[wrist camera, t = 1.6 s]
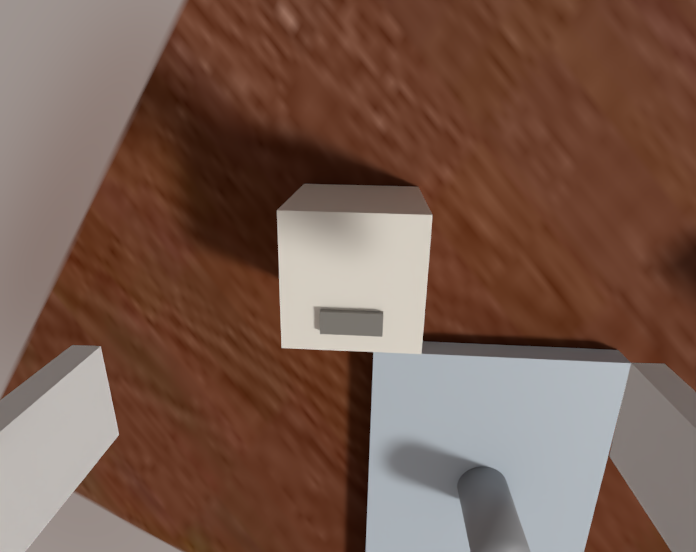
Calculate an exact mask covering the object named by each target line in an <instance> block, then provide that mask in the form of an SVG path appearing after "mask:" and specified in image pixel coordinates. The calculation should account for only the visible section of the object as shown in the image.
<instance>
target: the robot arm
mask: <svg viewBox="0 0 696 552" xmlns="http://www.w3.org/2000/svg"><path fill="white" fill-rule="evenodd" d="M118 435H119V432H118V427H117V422H116V418H115V413H114V408H113V403H112V398H111V393H110V389H109V384H108V379H107V374H106V369H105V364H104V360H103V355H102V350H101V346H79V345H72V346H70V347H69V348H68V349H67V350H65V351H64V352H63V353H61V354H60V355H59V356H57V357H56V358H55V359H54V360H52V361H51V362H50V363H48V364H47V365H46V366H44V367H43V368H42V369H41V370H39V371H38V372H37V373H35V374H34V375H33V376H31V377H30V378H29V379H28V380H26V381H25V382H24V383H22V384H21V385H20V386H18V387H17V388H16V389H15V390H13V391H12V392H11V393H9V394H8V395H7V396H5V397H4V398H3V399H2V400H0V552H25V551H26V550H27V549H28V548H29V546H30V545H31V544H32V543H33V541H34V540H35V539H36V538H37V536H38V535H39V534H40V533H41V531H42V530H43V529H44V528H45V526H46V525H47V524H48V522H49V521H50V520H51V519H52V518H53V516H54V515H55V514H56V513H57V511H58V510H59V509H60V508H61V506H62V505H63V504H64V503H65V501H66V500H67V499H68V498H69V496H70V495H71V494H72V493H73V492H74V490H75V489H76V488H77V487H78V485H79V484H80V483H81V482H82V480H83V479H84V478H85V477H86V475H87V474H88V473H89V472H90V470H91V469H92V468H93V467H94V465H95V464H96V463H97V462H98V460H99V459H100V458H101V457H102V455H103V454H104V453H105V452H106V450H107V449H108V448H109V447H110V445H111V444H112V443H113V442H114V440H115V439H116V438H117V437H118ZM610 458H611V460H612V461H613V463H614V464H615V466H616V467H617V469H618V470H619V472H620V473H621V475H622V476H623V478H624V479H625V481H626V482H627V484H628V486H629V487H630V489H631V490H632V492H633V493H634V495H635V496H636V498H637V499H638V501H639V502H640V504H641V505H642V507H643V509H644V510H645V512H646V513H647V515H648V516H649V518H650V519H651V521H652V522H653V524H654V525H655V527H656V528H657V530H658V531H659V533H660V535H661V536H662V538H663V539H664V541H665V542H666V544H667V545H668V547H669V548H670V550H671V551H672V552H696V392H695V391H694V390H693V389H692V388H691V387H690V386H689V385H687V384H686V383H685V382H684V381H683V380H682V379H681V378H680V377H679V376H678V375H676V374H675V373H674V372H673V371H672V370H671V369H670V368H669V367H668V366H667V365H665V364H654V363H631V366H630V370H629V374H628V379H627V383H626V387H625V391H624V396H623V400H622V404H621V409H620V413H619V417H618V421H617V426H616V430H615V434H614V439H613V443H612V447H611V451H610Z"/></svg>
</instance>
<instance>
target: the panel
mask: <svg viewBox="0 0 696 552" xmlns="http://www.w3.org/2000/svg"><path fill="white" fill-rule="evenodd" d="M630 366H631V363H630V362H629V361H628V360H627V359H626V358H625V357H624V356H623V355H622V354H621V352H620V351H619V350H607V349H585V348H562V347H539V346H517V345H494V344H471V343H448V342H426V341H423V342H422V354H405V353H383V352H373V372H372V398H371V423H370V449H369V474H368V500H367V526H366V551H365V552H584V549H585V545H586V541H587V537H588V533H589V529H590V525H591V521H592V517H593V513H594V509H595V505H596V501H597V497H598V493H599V489H600V485H601V481H602V478H603V474H604V470H605V466H606V462H607V458H608V454H609V450H610V446H611V442H612V438H613V434H614V430H615V426H616V422H617V418H618V414H619V410H620V406H621V402H622V398H623V394H624V390H625V386H626V382H627V378H628V374H629V370H630Z"/></svg>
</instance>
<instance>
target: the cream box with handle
mask: <svg viewBox="0 0 696 552" xmlns="http://www.w3.org/2000/svg"><path fill="white" fill-rule="evenodd" d="M431 228H432V213H431V211H430V209H429V207H428V205H427V203H426V201H425V199H424V197H423V195H422V193H421V191H420V189H419V187H413V186H375V185H336V184H303V185H302V186H301V187H300V188H299V189H298V190H297V191H296V192H295V193H294V194H293V195H292V196H291V197H290V198H289V199H288V200H287V201H286V202H285V203H284V204H283V205H282V206H281V207H280V208H279V209H278V210H277V231H278V259H279V287H280V315H281V344H282V348H295V349H317V350H339V351H361V352H383V353H405V354H422V342H423V329H424V317H425V304H426V291H427V279H428V266H429V253H430V241H431Z"/></svg>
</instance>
